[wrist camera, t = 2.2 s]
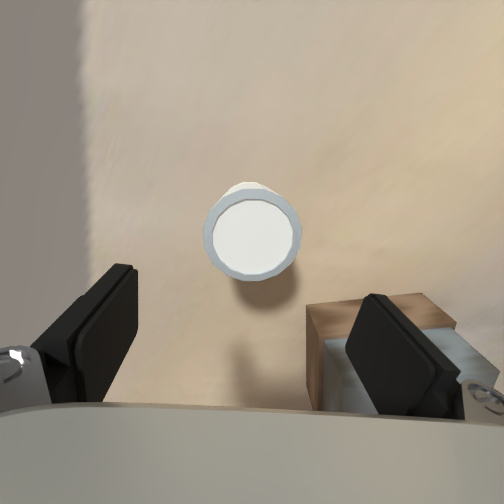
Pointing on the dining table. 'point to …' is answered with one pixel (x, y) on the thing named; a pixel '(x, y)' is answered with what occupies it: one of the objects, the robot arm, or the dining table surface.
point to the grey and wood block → (342, 371)
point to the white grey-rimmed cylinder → (252, 233)
